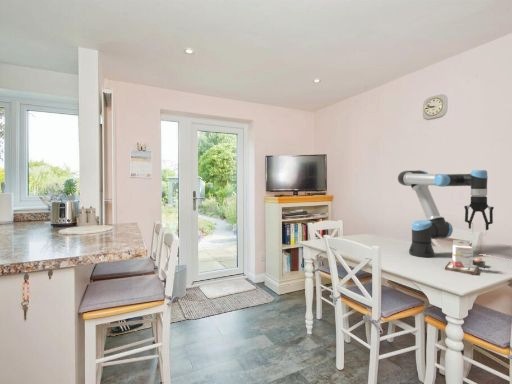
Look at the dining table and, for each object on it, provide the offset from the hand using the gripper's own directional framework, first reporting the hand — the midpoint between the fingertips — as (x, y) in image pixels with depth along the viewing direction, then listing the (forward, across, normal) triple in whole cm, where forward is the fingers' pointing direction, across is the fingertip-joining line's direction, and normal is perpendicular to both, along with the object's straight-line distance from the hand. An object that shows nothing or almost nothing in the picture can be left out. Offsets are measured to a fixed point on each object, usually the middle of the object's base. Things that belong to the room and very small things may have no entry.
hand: (478, 234), depth 159 cm
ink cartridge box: (+17, -6, -14) cm, 23 cm away
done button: (+17, 0, 0) cm, 17 cm away
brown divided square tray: (+19, -6, -14) cm, 24 cm away
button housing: (+19, 0, 0) cm, 19 cm away
